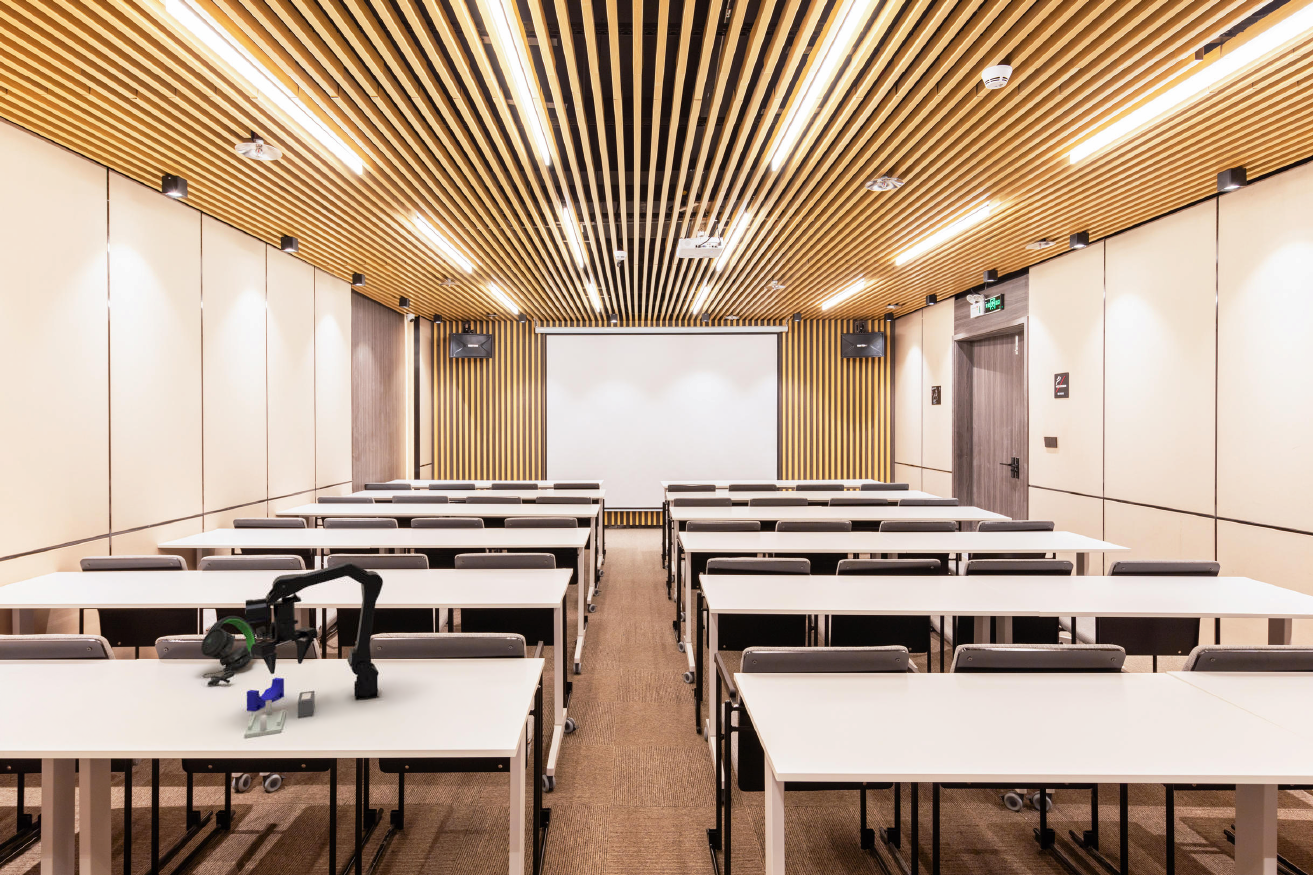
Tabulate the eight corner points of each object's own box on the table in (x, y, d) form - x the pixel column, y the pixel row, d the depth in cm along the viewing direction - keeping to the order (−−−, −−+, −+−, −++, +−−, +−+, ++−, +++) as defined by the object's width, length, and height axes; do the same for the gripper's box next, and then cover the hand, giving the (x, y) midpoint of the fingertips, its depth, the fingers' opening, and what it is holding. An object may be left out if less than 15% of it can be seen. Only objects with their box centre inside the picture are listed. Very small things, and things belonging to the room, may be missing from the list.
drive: (314, 706, 214) (314, 690, 214) (312, 716, 207) (312, 699, 207) (300, 708, 212) (300, 692, 212) (297, 718, 205) (297, 701, 205)
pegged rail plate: (286, 713, 208) (286, 697, 208) (281, 732, 195) (281, 714, 195) (252, 718, 205) (251, 701, 205) (244, 738, 192) (244, 720, 192)
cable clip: (271, 695, 223) (271, 677, 223) (284, 696, 222) (283, 678, 222) (242, 710, 211) (242, 691, 211) (255, 712, 210) (255, 692, 210)
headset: (216, 706, 235) (250, 643, 261) (250, 690, 234) (280, 629, 259) (176, 674, 227) (215, 612, 252) (211, 658, 225) (246, 597, 250)
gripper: (293, 607, 222) (295, 655, 223) (237, 623, 205) (239, 675, 206) (318, 610, 217) (319, 659, 218) (262, 627, 201) (264, 680, 201)
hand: (286, 668), depth 211 cm, fingers open, 9 cm apart
